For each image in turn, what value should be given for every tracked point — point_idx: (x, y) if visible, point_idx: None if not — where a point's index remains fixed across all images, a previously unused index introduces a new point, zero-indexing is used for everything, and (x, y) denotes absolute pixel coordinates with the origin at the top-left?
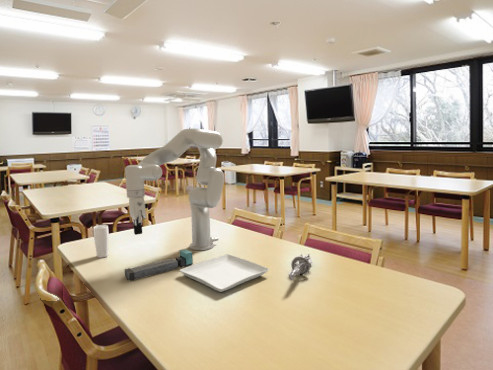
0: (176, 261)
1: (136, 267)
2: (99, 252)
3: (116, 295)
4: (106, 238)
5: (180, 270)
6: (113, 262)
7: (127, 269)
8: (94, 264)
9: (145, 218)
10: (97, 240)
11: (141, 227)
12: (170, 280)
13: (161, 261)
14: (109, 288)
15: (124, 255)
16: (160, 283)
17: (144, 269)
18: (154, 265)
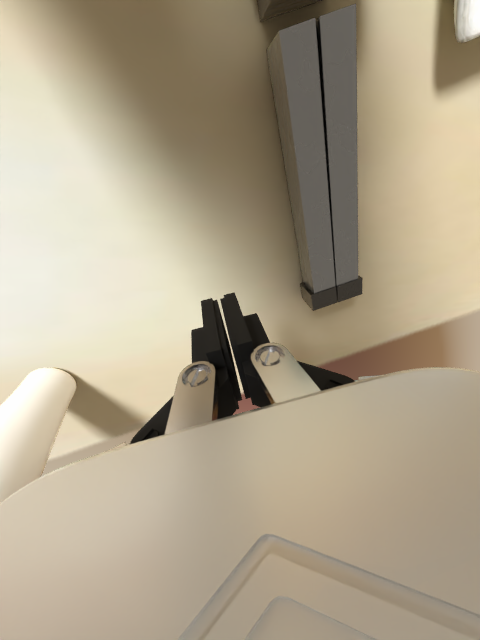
0: (354, 14)
1: (317, 269)
2: (68, 404)
3: (409, 311)
4: (22, 437)
5: (476, 34)
6: (137, 341)
7: (321, 300)
8: (145, 389)
9: (476, 374)
10: (48, 457)
11: (245, 327)
12: (436, 122)
13: (302, 134)
14: (357, 330)
15: (44, 309)
16: (431, 174)
17: (357, 237)
18: (338, 186)
